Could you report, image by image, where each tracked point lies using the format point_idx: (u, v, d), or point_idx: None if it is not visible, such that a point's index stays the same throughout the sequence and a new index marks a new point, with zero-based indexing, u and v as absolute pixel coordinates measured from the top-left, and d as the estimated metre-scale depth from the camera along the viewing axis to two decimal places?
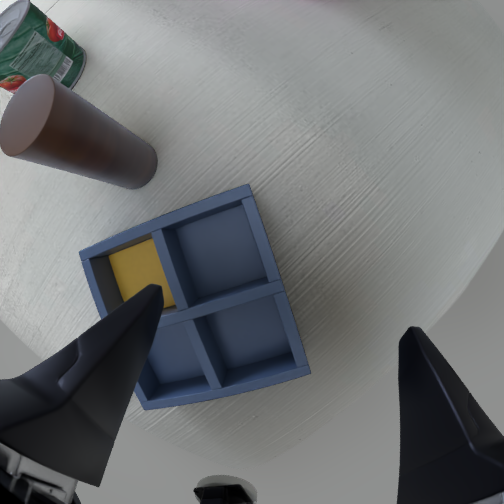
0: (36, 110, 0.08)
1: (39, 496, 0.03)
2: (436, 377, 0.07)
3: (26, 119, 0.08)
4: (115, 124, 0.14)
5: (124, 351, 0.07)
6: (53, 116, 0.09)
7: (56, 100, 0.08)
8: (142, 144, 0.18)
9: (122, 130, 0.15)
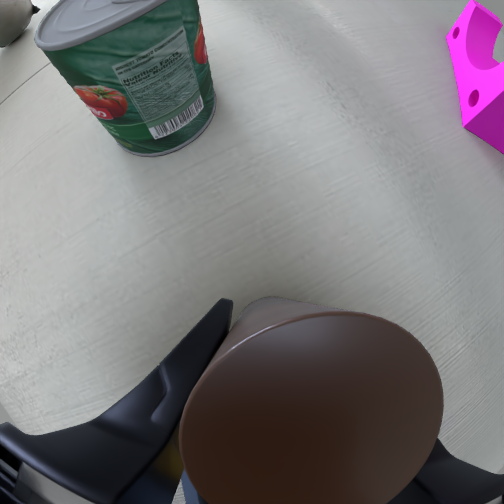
0: (378, 462, 0.03)
1: None
2: None
3: (335, 474, 0.03)
4: None
5: None
6: (405, 472, 0.03)
7: (429, 444, 0.03)
8: None
9: None
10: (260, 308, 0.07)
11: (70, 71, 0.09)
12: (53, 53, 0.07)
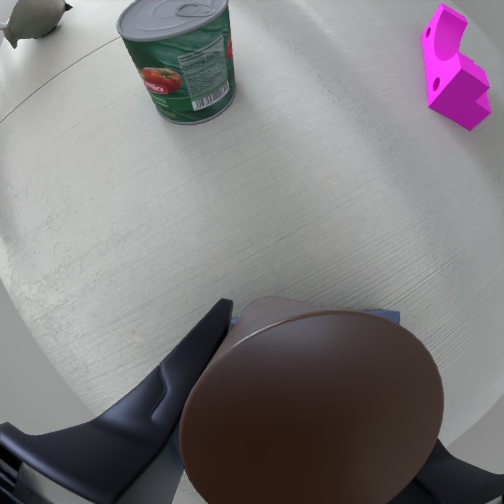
0: (378, 461, 0.03)
1: None
2: None
3: (336, 473, 0.03)
4: None
5: None
6: (405, 472, 0.03)
7: (430, 443, 0.03)
8: None
9: None
10: (260, 307, 0.07)
11: (147, 57, 0.15)
12: (138, 43, 0.13)
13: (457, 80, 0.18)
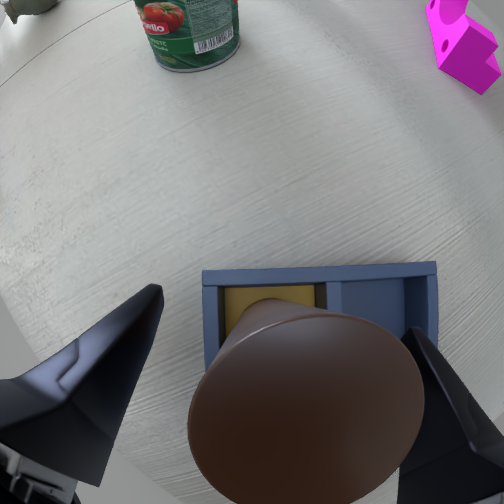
0: (364, 448, 0.04)
1: (39, 496, 0.03)
2: (436, 377, 0.07)
3: (326, 458, 0.04)
4: None
5: (124, 351, 0.07)
6: (391, 461, 0.04)
7: (414, 434, 0.04)
8: None
9: None
10: (259, 309, 0.08)
11: None
12: None
13: (466, 38, 0.15)
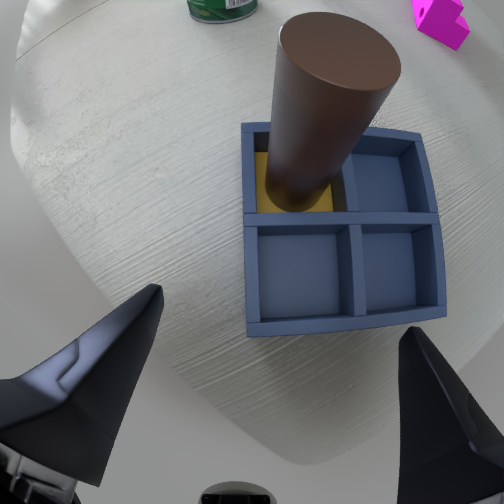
0: (371, 57, 0.07)
1: (39, 496, 0.03)
2: (436, 377, 0.07)
3: (352, 55, 0.07)
4: None
5: (124, 351, 0.07)
6: (395, 82, 0.07)
7: (399, 67, 0.07)
8: None
9: None
10: None
11: None
12: None
13: (436, 3, 0.18)
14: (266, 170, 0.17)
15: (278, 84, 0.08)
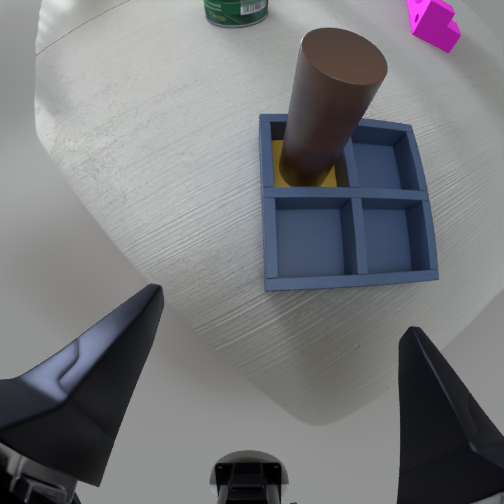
0: (366, 61, 0.10)
1: (39, 496, 0.03)
2: (436, 377, 0.07)
3: (352, 60, 0.10)
4: None
5: (124, 351, 0.07)
6: (383, 79, 0.10)
7: (386, 68, 0.10)
8: None
9: None
10: None
11: None
12: None
13: (430, 9, 0.21)
14: (281, 152, 0.20)
15: (299, 80, 0.11)
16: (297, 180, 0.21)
